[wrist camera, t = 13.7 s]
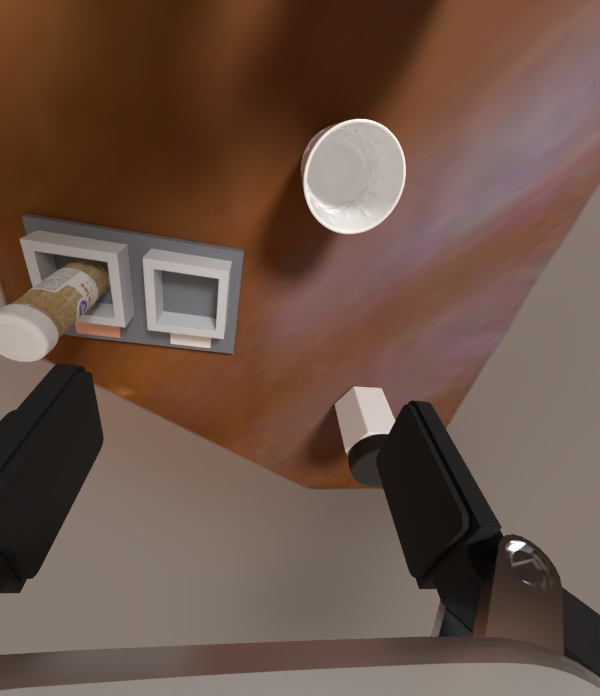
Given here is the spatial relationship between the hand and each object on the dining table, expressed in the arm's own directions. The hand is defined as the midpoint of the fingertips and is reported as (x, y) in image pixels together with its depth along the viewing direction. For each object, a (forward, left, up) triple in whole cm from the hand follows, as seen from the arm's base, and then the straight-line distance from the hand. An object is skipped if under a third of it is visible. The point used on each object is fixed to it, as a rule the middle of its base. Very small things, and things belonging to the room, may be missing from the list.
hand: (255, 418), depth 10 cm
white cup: (-5, +6, -30) cm, 31 cm away
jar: (+27, +19, -30) cm, 45 cm away
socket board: (+12, -13, -30) cm, 35 cm away
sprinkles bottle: (+10, -18, -29) cm, 36 cm away
